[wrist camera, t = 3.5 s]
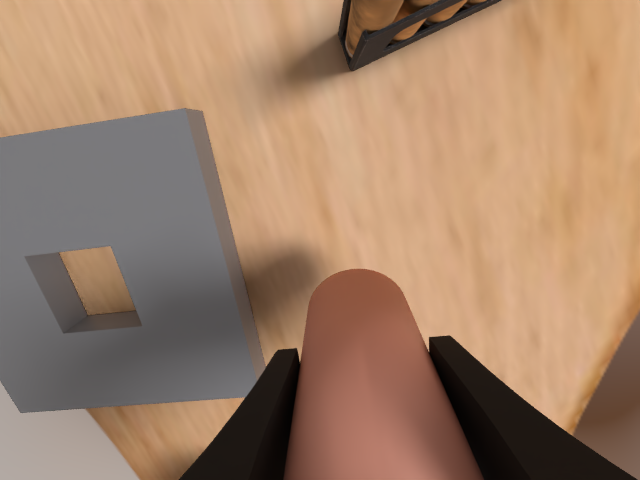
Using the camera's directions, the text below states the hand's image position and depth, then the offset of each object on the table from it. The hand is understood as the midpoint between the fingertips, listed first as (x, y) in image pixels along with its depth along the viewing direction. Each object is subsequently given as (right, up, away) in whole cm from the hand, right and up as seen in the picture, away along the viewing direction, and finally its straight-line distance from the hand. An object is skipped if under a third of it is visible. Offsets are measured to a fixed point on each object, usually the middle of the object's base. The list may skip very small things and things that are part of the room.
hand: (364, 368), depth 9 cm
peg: (0, +1, +3) cm, 3 cm away
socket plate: (-15, +2, +10) cm, 19 cm away
